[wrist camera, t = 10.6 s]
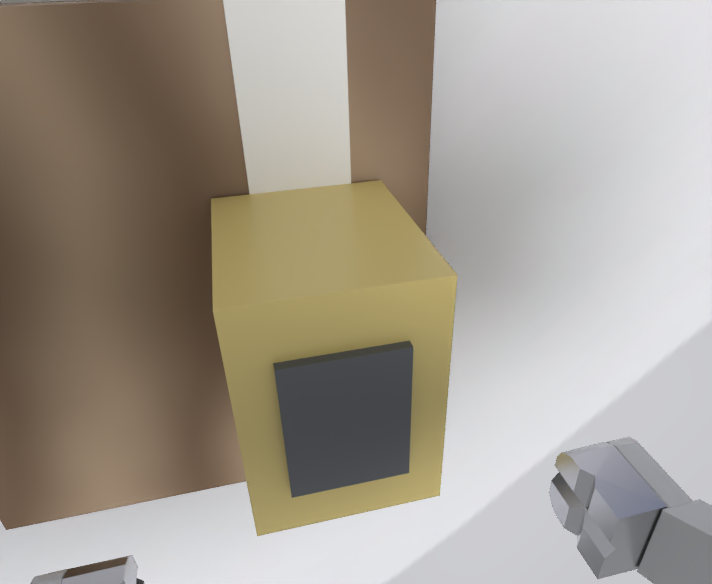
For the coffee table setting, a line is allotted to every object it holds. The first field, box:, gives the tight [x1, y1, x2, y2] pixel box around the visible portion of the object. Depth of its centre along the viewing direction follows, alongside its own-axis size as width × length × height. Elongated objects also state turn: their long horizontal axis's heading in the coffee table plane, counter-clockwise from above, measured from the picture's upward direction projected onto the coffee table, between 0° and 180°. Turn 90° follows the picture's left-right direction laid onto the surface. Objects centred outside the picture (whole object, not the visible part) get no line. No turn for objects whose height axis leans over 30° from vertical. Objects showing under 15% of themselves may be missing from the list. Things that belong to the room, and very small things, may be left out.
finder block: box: [211, 180, 457, 536], centre depth 15 cm, size 5×7×6 cm
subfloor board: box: [0, 0, 436, 530], centre depth 18 cm, size 16×17×2 cm
